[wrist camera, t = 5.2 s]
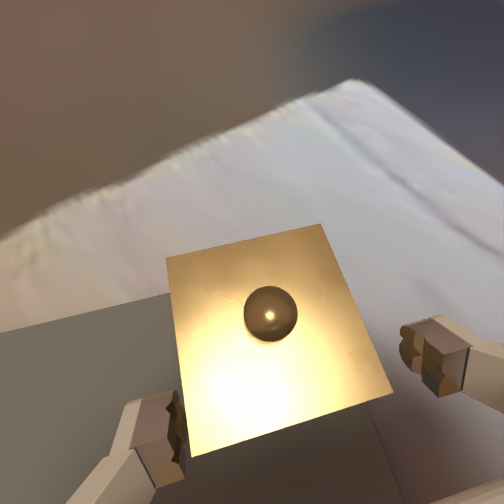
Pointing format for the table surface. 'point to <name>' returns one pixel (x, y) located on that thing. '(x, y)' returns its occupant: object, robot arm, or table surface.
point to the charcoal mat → (169, 378)
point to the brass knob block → (267, 337)
